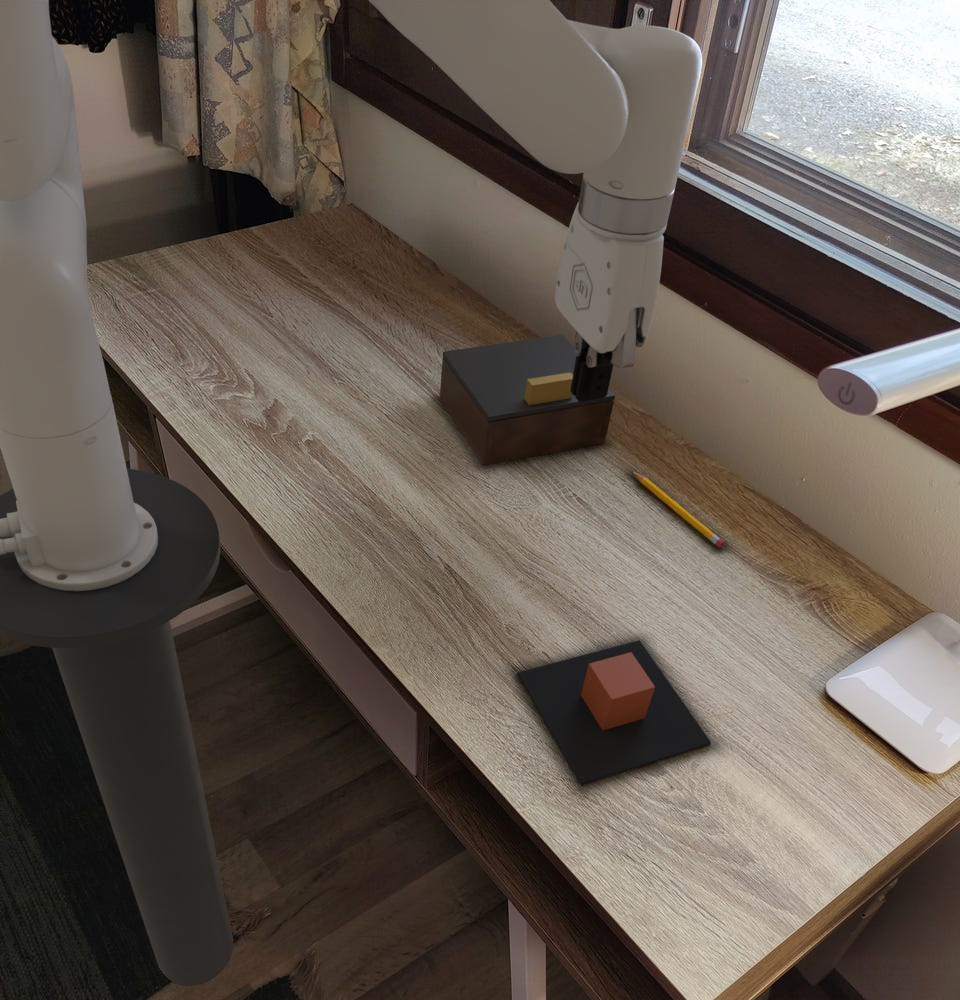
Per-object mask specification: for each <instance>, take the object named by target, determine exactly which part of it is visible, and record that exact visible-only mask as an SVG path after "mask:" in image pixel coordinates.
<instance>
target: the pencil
mask: <svg viewBox="0 0 960 1000" xmlns="http://www.w3.org/2000/svg"><path fill="white" fill-rule="evenodd" d="M632 473H633V475H634V476H635V477H636V479H637V480H638V481H639V482H640V484H641V485H642V486H643V487H645V488H646V489H647V490H649V492H651V493H652V494H653V495H655V496H656V497H657V498H658V500H660V501H661V502H663V503H664V504H665V505H667V507H669V508H670V509H671V510H672V511H674V512H675V513H676V514H677V515H678V516H680V517H681V518H682V519H683V520H684V521H685V522H687V523H688V524H690V525H691V526H692V527H693V528H694V529H695V530H696V531H698V532H699V533H700V534H701V535H702V536H703V537H705V538H706V539H707V540H709V541H710V542H711V543H712V544H713V545H714V546H715V547H716V548H718V549H721V548H723V547H724V545H725V541H724V540H723V539H721V537H719V536H718V535H717V534H715V533H714V532H713V530H711V529H709V528H708V527H707V526H705V525H704V524H703V523H702V521H700V520H698V519H697V518H696V517H695V516H693V514H691V513H690V512H689V511H688V510H686V509H685V508H684V507H683V506H681V504H679V503H678V502H676V501H675V500H674V499H673V498H671V497H670V496H669V495H668V494H667V493H665V491H663V490H662V489H661V488H660V487H658V486H657V485H656V484H655V483H653V482H652V481H651V480H650V479H649V478H647V477H646V476H644V475H642V474H640V473H638V472H635V471H632Z"/></svg>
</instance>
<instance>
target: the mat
mask: <svg viewBox="0 0 960 1000" xmlns="http://www.w3.org/2000/svg"><path fill="white" fill-rule="evenodd" d="M630 652H631V653H632V654H633V655H634V657H635V658H636V660H637V661H638V663H639V664H640V666H641V667H642V668H643V670H644V671H645V673H646V674H647V676H648V677H649V679H650V680H651V682H652V683H653V685H654V686H655V690H654V693H653V696H652V698H651V701H650V704H649V707H648V710H647V713H646V716H645V718H644V719H640V720H637V721H634V722H630V723H627V724H623V725H620V726H617V727H613V728H610V729H606V730H602V729H601V727H600V725H599V724H598V722H597V720H596V719H595V717H594V716H593V714H592V712H591V711H590V709H589V707H588V706H587V704H586V703H585V701H584V699H583V698H582V696H581V692H582V688H583V685H584V681H585V677H586V673H587V669H588V665H589V663H593V662H597V661H601V660H604V659H608V658H612V657H615V656H619V655H623V654H627V653H630ZM516 676H517V677H518V680H519V681H520V683H521V684H522V686H523V688H524V690H525V691H526V693H527V695H528V697H529V698H530V700H531V702H532V704H533V705H534V707H535V709H536V711H537V712H538V714H539V716H540V718H541V719H542V721H543V723H544V724H545V726H546V728H547V730H548V732H549V733H550V735H551V737H552V739H553V740H554V742H555V743H556V745H557V748H558V749H559V751H560V753H561V754H562V756H563V758H564V759H565V761H566V763H567V765H568V767H569V768H570V770H571V772H572V774H573V775H574V777H575V779H576V780H577V782H578V784H579V786H585V785H587V784H591V783H595V782H597V781H600V780H604V779H607V778H610V777H613V776H616V775H620V774H623V773H626V772H629V771H633V770H636V769H639V768H642V767H645V766H648V765H652V764H655V763H659V762H661V761H665V760H667V759H671V758H674V757H677V756H680V755H683V754H687V753H689V752H693V751H697V750H700V749H702V748H706V747H709V746H711V745H712V742H711V739H709V737H708V736H707V734H706V733H705V731H704V730H703V728H702V727H701V725H699V723H698V721H697V720H696V719H695V717H694V716H693V714H692V713H691V711H690V709H688V707H687V706H686V704H685V703H684V702H683V699H681V697H680V696H679V694H678V692H676V690H675V688H674V687H673V685H672V684H671V682H670V681H669V680H668V678H667V677H666V676H665V674H664V673H663V671H662V670H661V668H660V667H659V666H658V665H657V663H656V662H655V660H654V659H653V656H651V654H650V653H649V651H648V650H647V649H646V647H645V646H644V645H643V643H642V642H641V640H635V641H631V642H627V643H623V644H619V645H615V646H612V647H608V648H604V649H601V650H597V651H593V652H589V653H586V654H583V655H577V656H574V657H571V658H567V659H563V660H559V661H555V662H552V663H548V664H545V665H544V664H543V665H540V666H537V667H533V668H529V669H525V670H522V671H517V673H516Z"/></svg>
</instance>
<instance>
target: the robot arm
mask: <svg viewBox="0 0 960 1000" xmlns="http://www.w3.org/2000/svg"><path fill="white" fill-rule="evenodd" d="M49 1H50V0H0V451H1V452H0V453H1V454H2V458H3V461H4V465H5V467H6V470H7V473H8V477H9V479H10V480H9V481H10V483H11V486H12V489H14V492H15V495H16V498H17V501H16V505H17V510H18V511H17V512H13V513H7V518H2V519H0V538H6V537H13V538H8V539H0V555H2V554H6V553H9V552H15V556H16V559H17V562H18V564H19V566H20V568H21V569H22V571H23V572H24V573H25V574H26V575H27V576H28V577H29V578H30V579H32V580H34V581H35V582H37V583H39V584H41V585H44V586H47V587H49V588H53V589H59V590H64V591H87V590H95V589H100V588H105V587H108V586H111V585H114V584H117V583H120V582H122V581H124V580H126V579H128V578H130V577H132V576H133V575H134V574H136V573H137V572H139V571H140V570H141V569H142V568H144V567H145V566H146V565H147V564H148V563H149V561H150V560H151V558H152V557H153V555H154V554H155V551H156V549H157V546H158V533H157V527H156V524H155V522H154V519H153V518H152V517H151V515H150V514H149V513H148V512H147V511H146V510H145V509H144V508H142V507H141V506H140V505H138V504H136V503H134V501H133V496H132V492H131V487H130V482H129V477H128V473H127V469H128V468H127V463H126V459H125V455H124V454H125V453H124V449H123V445H122V440H121V435H120V430H119V425H118V420H117V416H116V412H115V407H114V402H113V398H112V397H113V396H112V393H111V390H110V384H109V381H108V380H109V379H108V376H107V371H106V366H105V361H104V358H103V355H102V350H101V346H100V343H99V340H98V339H99V338H98V335H97V331H96V327H95V323H94V318H93V313H92V307H91V302H90V294H89V285H88V284H89V283H88V282H89V281H88V254H87V251H88V250H87V249H88V247H87V245H88V237H87V236H88V235H87V233H88V231H87V215H86V206H85V197H84V196H85V195H84V186H83V177H82V165H81V157H80V155H81V154H80V147H79V146H80V145H79V137H78V136H79V135H78V125H77V115H76V106H75V105H76V103H75V95H74V87H73V79H72V75H71V70H70V67H69V65H68V61H67V59H66V56H65V54H64V52H63V50H62V49H61V47H60V45H59V44H58V42H57V40H56V39H55V37H54V36H53V35H52V34H53V33H52V24H51V16H50V2H49ZM367 1H368V2H369V3H370V4H371V5H372V6H374V8H375V9H376V10H378V12H380V14H381V15H382V16H383V17H384V18H385V19H386V20H387V22H388V23H390V25H392V26H393V27H394V28H395V29H396V30H397V31H398V32H399V33H400V34H401V35H402V36H404V37H405V38H406V39H407V40H408V41H409V42H411V43H412V44H413V45H414V46H416V47H417V48H418V49H419V50H420V51H421V52H422V53H424V54H425V55H426V57H428V58H429V59H430V60H431V61H432V62H433V63H435V64H436V66H438V68H440V69H441V70H442V71H443V72H444V73H445V74H446V75H447V76H448V77H449V78H450V79H451V80H452V81H453V82H454V83H455V84H456V85H457V86H458V87H459V88H460V89H461V90H462V91H463V92H464V93H465V94H466V95H467V96H468V97H469V98H470V99H471V100H472V101H473V102H474V103H475V104H476V105H477V106H478V107H479V108H480V109H481V110H482V111H484V112H485V113H486V115H488V116H489V117H490V118H491V119H492V120H493V121H494V123H496V124H497V125H499V127H501V129H503V130H504V131H505V132H506V133H507V134H508V135H510V137H511V138H512V139H513V140H514V141H516V142H517V144H519V145H520V146H521V148H523V149H524V150H525V151H527V153H529V154H530V156H532V157H533V158H534V159H535V160H536V161H538V162H539V163H540V164H541V165H543V166H544V167H546V168H547V169H549V170H552V171H555V172H557V173H561V174H567V175H578V174H582V179H581V185H580V186H581V187H580V193H579V198H578V202H577V204H576V206H575V209H574V211H573V214H572V216H571V220H570V222H569V225H568V230H567V233H566V236H565V241H564V244H563V249H562V253H561V258H560V262H559V269H558V274H557V278H556V279H557V280H556V284H555V291H554V303H555V306H556V308H557V310H558V311H559V312H560V313H561V315H562V316H563V317H564V318H565V320H566V321H567V322H568V323H569V324H570V326H571V327H572V328H573V329H575V337H574V348H575V352H576V353H577V354H578V355H579V354H580V356H576V361H575V366H574V372H573V378H572V383H571V389H570V391H571V393H572V394H573V395H574V396H575V397H576V399H577V400H578V401H579V402H583V401H588V400H594V399H600V398H604V397H606V396H607V393H608V388H609V389H610V383H611V377H612V373H613V369H614V366H615V367H616V368H618V369H625V368H630V367H633V366H634V365H635V355H636V347H637V348H643V346H644V345H645V344H646V342H647V340H648V337H649V335H650V332H651V327H652V325H653V320H654V315H655V311H656V306H657V300H658V294H659V289H660V288H659V287H660V281H661V274H662V266H663V265H662V264H663V255H664V240H665V239H664V238H665V237H664V235H663V234H664V233H665V231H666V230H667V226H668V221H669V217H670V212H671V209H672V204H673V199H674V195H675V190H676V185H677V181H678V177H679V173H680V168H681V163H682V159H683V155H684V150H685V146H686V141H687V136H688V132H689V128H690V123H691V119H692V114H693V111H694V105H695V101H696V96H697V93H698V88H699V83H700V79H701V73H702V68H703V55H702V50H701V47H700V46H699V44H698V43H697V42H696V41H695V39H693V38H692V37H691V36H689V35H686V34H685V33H683V32H681V31H678V30H675V29H672V28H667V27H663V26H657V25H647V24H644V25H642V24H641V25H639V24H638V25H631V26H624V27H622V28H612V27H606V26H601V25H594V24H589V23H585V22H580V21H575V20H571V19H567V18H566V17H565V15H563V14H562V13H561V11H560V10H559V9H558V8H557V7H556V6H555V5H554V3H553V2H552V1H551V0H367Z"/></svg>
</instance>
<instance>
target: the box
mask: <svg viewBox="0 0 960 1000" xmlns="http://www.w3.org/2000/svg"><path fill="white" fill-rule="evenodd" d="M441 360H442V362H441V374H440V387H439V389H440V391H439V394H440V395H439V402H440V403H441V404H442V406H443V407H444V409H445V410H446V412H447V413H448V415H449V416H450V418H451V419H452V420H453V423H454V424H455V425H456V427H457V428H458V430H459V432H460V433H461V434H462V436H463V437H464V439H465V441H466V442H467V443H468V445H469V446H470V448H471V450H472V451H473V452H474V454H475V455H476V457H477V458H478V460H479V462H480V463H481V464H482V466H488V465H494V464H500V463H504V462H509V461H515V460H520V459H527V458H531V457H536V456H542V455H547V454H554V453H558V452H563V451H570V450H574V449H580V448H585V447H592V446H595V445H602V444H605V443H606V439H607V434H608V429H609V427H610V426H609V425H610V421H611V416H612V411H613V407H614V403H615V400H612V401H606V402H600V403H594V404H588V405H582V406H577V407H571V408H565V409H559V410H553V411H547V412H541V413H536V414H530V415H524V416H518V417H512V418H506V419H500V420H495V421H488V420H487V419H486V417H485V416H484V415H483V413H482V412H481V410H480V409H479V407H478V406H477V405H476V403H475V402H474V400H473V399H472V397H471V396H470V395H469V393H468V392H467V390H466V389H465V388H464V386H463V385H462V383H461V382H460V380H459V379H458V378H457V376H456V375H455V373H454V372H453V370H452V369H451V368H450V366H449V365H448V363H447V362H446V360H445V359H444V358H443V357H442V359H441Z"/></svg>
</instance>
